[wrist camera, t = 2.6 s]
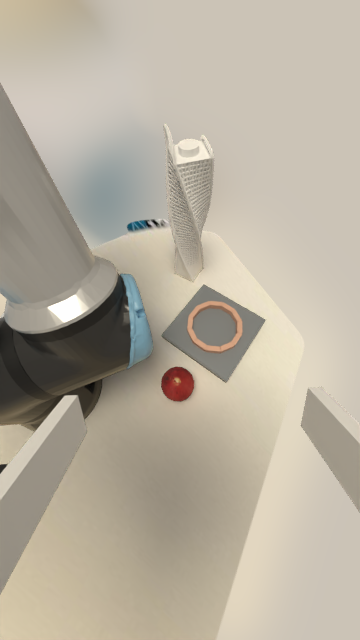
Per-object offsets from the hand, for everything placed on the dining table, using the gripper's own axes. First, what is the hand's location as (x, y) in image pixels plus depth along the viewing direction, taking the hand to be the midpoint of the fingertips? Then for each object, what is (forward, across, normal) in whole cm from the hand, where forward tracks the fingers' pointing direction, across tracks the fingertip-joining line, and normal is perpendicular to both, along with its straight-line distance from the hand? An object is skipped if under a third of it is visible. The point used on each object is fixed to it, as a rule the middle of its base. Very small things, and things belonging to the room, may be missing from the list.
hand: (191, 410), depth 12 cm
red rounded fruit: (+23, -2, -16) cm, 28 cm away
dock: (+31, +6, -8) cm, 33 cm away
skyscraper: (+43, +1, +4) cm, 43 cm away
